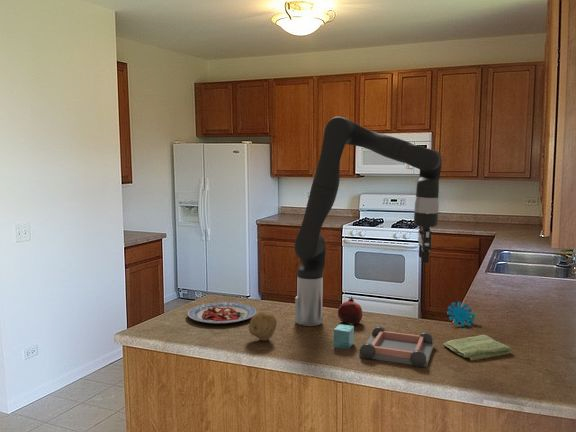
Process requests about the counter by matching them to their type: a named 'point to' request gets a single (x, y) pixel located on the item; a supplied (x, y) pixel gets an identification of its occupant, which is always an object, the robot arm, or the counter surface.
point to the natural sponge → (263, 325)
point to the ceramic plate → (221, 312)
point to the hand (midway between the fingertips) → (423, 259)
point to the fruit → (350, 312)
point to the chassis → (398, 347)
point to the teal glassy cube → (343, 336)
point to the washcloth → (477, 347)
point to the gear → (461, 314)
